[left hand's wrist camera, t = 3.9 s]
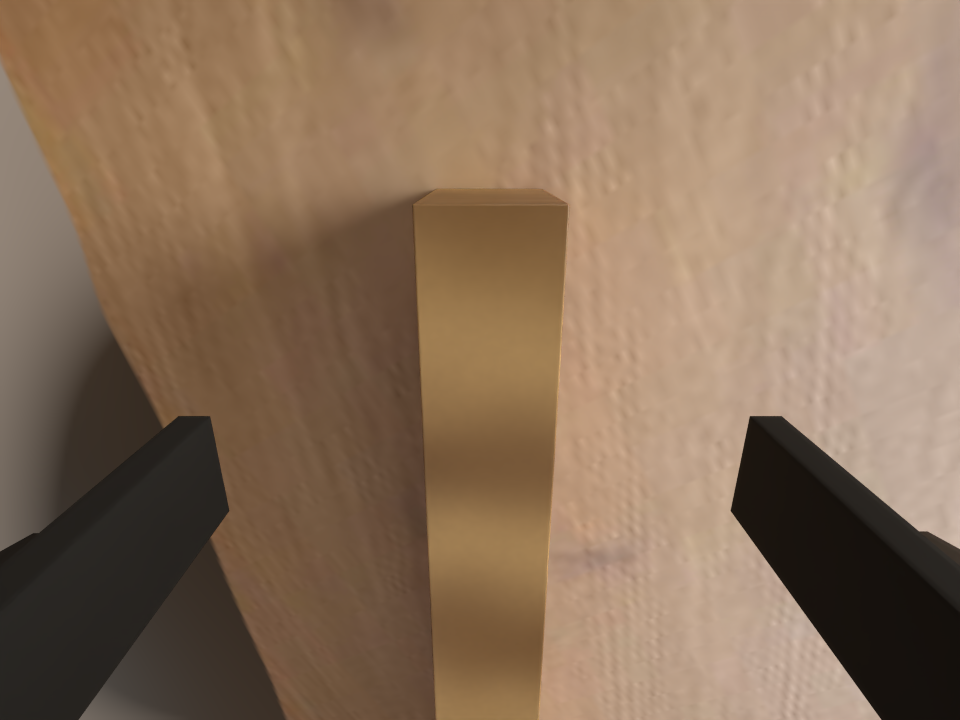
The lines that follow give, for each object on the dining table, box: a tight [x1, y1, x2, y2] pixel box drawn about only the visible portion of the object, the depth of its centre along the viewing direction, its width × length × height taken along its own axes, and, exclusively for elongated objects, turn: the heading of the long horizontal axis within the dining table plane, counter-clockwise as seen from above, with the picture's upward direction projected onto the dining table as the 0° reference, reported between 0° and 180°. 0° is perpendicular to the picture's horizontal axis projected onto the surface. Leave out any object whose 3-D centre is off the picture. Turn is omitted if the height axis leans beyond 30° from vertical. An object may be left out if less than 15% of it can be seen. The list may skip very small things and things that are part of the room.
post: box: [412, 189, 570, 720], centre depth 28 cm, size 54×4×7 cm, turn 0°
